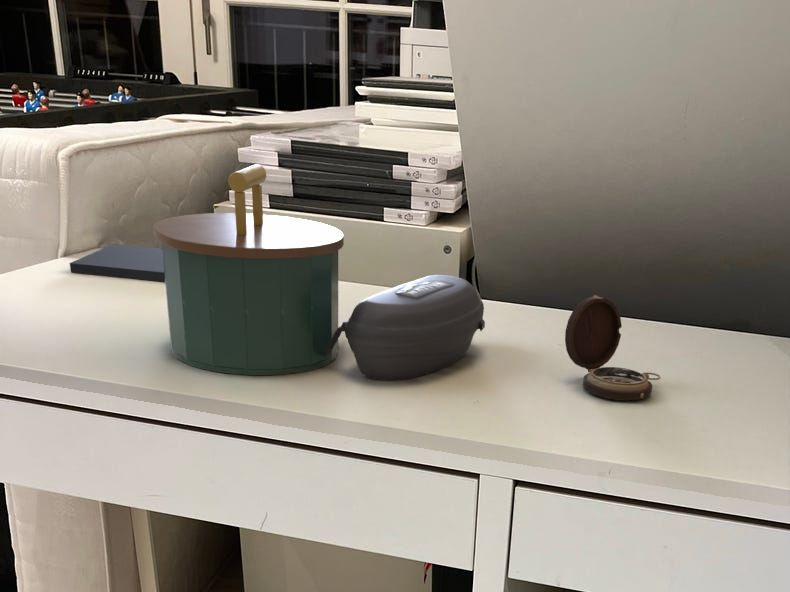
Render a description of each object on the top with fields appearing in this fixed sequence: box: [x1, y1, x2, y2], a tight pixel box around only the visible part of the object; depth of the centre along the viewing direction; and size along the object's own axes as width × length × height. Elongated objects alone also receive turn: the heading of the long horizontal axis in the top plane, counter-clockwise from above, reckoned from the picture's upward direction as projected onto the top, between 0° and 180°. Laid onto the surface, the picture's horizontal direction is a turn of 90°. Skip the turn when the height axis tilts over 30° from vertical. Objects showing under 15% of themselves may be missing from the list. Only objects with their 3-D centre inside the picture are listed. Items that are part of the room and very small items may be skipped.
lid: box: [152, 163, 345, 259], centre depth 82 cm, size 16×16×6 cm
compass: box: [564, 295, 661, 401], centre depth 86 cm, size 8×8×7 cm
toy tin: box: [161, 243, 339, 376], centre depth 86 cm, size 15×15×10 cm
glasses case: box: [324, 274, 486, 381], centre depth 88 cm, size 18×10×8 cm, turn 154°
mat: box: [69, 243, 165, 283], centre depth 113 cm, size 12×12×1 cm
